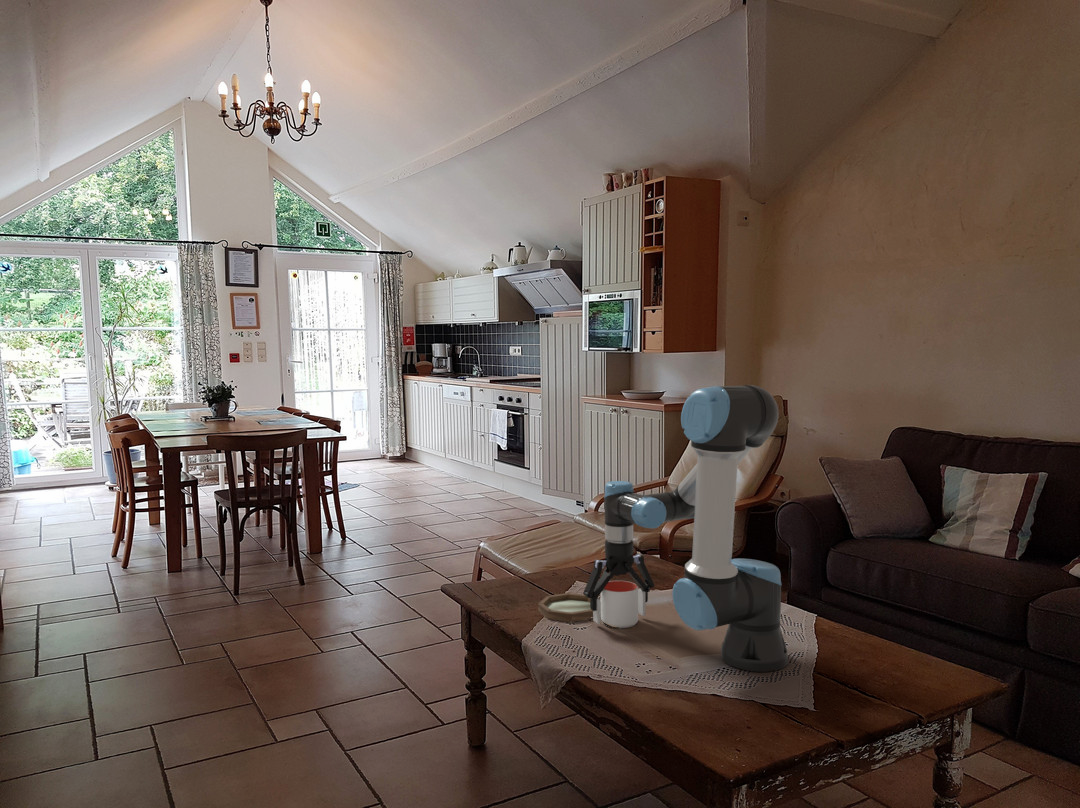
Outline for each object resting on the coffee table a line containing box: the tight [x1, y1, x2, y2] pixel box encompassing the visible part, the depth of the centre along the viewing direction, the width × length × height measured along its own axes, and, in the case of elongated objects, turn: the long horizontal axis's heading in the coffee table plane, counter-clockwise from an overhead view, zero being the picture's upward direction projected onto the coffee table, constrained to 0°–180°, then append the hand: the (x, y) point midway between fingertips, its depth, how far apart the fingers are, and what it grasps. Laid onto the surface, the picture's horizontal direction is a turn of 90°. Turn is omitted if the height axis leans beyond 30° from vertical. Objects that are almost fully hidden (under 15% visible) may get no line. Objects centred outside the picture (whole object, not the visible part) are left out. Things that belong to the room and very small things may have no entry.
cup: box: [600, 580, 639, 629], centre depth 204 cm, size 10×10×10 cm
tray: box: [537, 592, 601, 623], centre depth 214 cm, size 16×16×2 cm
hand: (619, 618), depth 204 cm, fingers open, 13 cm apart
